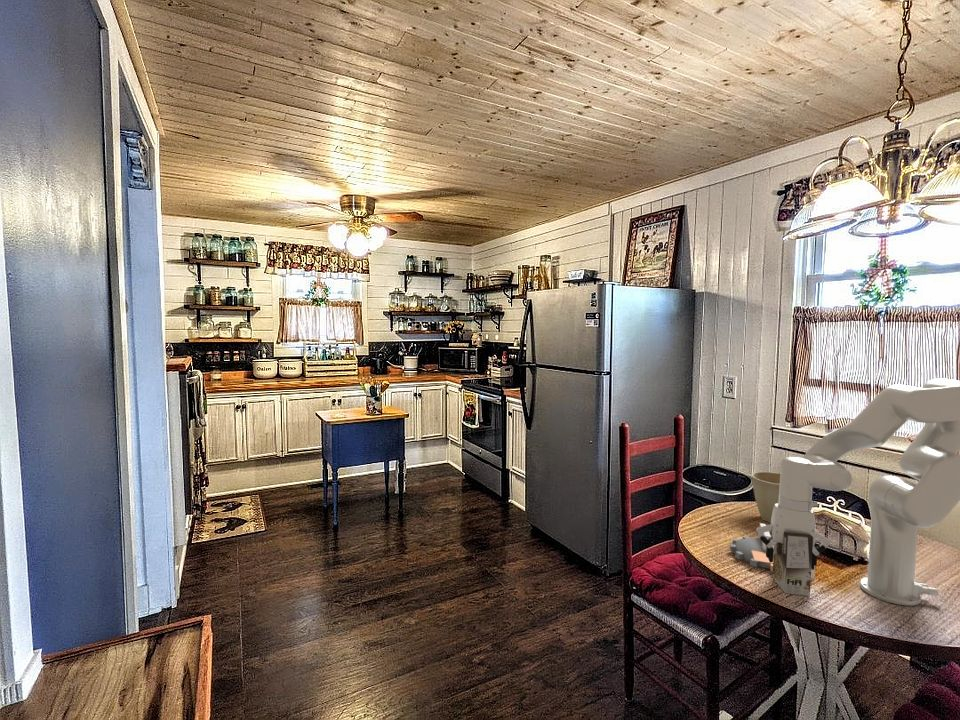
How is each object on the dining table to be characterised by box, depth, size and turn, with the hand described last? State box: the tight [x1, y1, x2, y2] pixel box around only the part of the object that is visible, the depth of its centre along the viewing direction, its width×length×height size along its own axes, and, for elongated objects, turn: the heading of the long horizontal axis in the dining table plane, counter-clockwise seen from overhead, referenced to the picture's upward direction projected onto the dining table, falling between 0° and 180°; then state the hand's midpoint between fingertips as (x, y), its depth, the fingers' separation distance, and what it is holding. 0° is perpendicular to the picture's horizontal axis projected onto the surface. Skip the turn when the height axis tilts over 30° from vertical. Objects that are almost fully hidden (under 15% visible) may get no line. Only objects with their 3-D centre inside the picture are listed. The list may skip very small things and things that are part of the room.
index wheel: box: [729, 522, 774, 572], centre depth 151 cm, size 21×22×6 cm
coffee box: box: [772, 532, 813, 597], centre depth 134 cm, size 9×6×16 cm
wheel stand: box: [811, 566, 816, 580], centre depth 147 cm, size 15×15×4 cm
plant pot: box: [751, 471, 780, 523], centre depth 180 cm, size 15×15×16 cm
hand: (790, 563), depth 134 cm, fingers open, 9 cm apart
